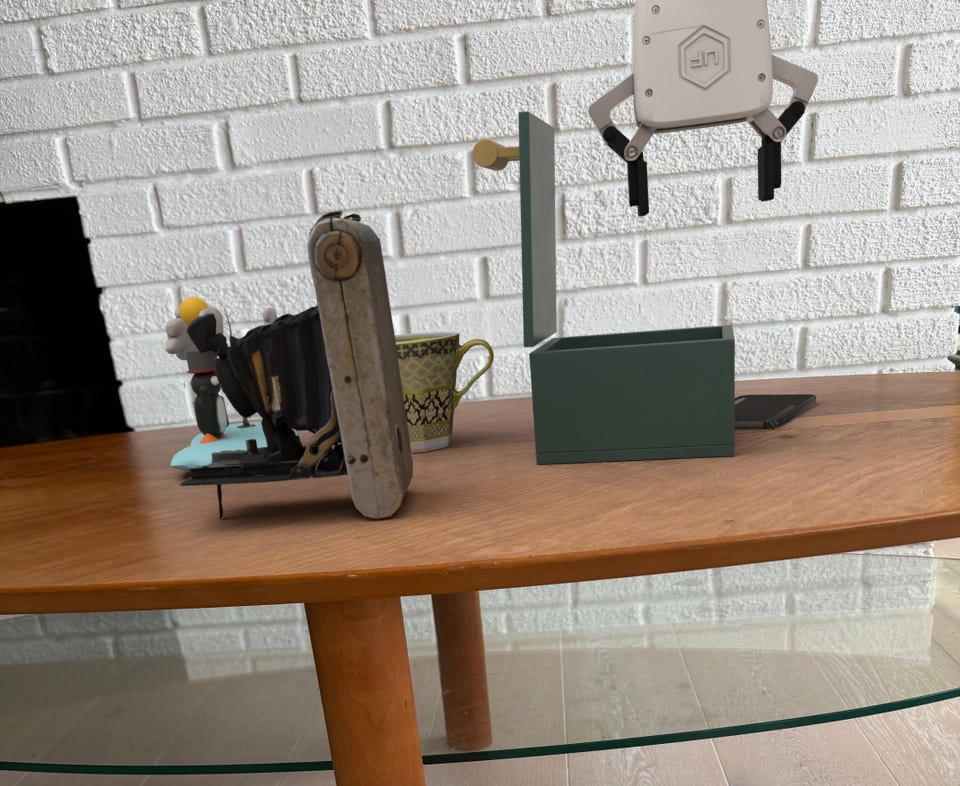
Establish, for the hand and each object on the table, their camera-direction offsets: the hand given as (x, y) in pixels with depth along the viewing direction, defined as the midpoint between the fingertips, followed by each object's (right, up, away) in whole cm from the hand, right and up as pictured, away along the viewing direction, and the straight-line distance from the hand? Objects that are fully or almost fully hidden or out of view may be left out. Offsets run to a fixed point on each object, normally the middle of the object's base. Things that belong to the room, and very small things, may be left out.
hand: (704, 208), depth 80 cm
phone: (+9, -14, +16) cm, 22 cm away
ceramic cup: (-22, -16, +15) cm, 32 cm away
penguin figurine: (-41, -17, +18) cm, 48 cm away
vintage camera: (-31, -25, -6) cm, 40 cm away
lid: (-13, -1, +2) cm, 13 cm away
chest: (-4, -18, +7) cm, 19 cm away
